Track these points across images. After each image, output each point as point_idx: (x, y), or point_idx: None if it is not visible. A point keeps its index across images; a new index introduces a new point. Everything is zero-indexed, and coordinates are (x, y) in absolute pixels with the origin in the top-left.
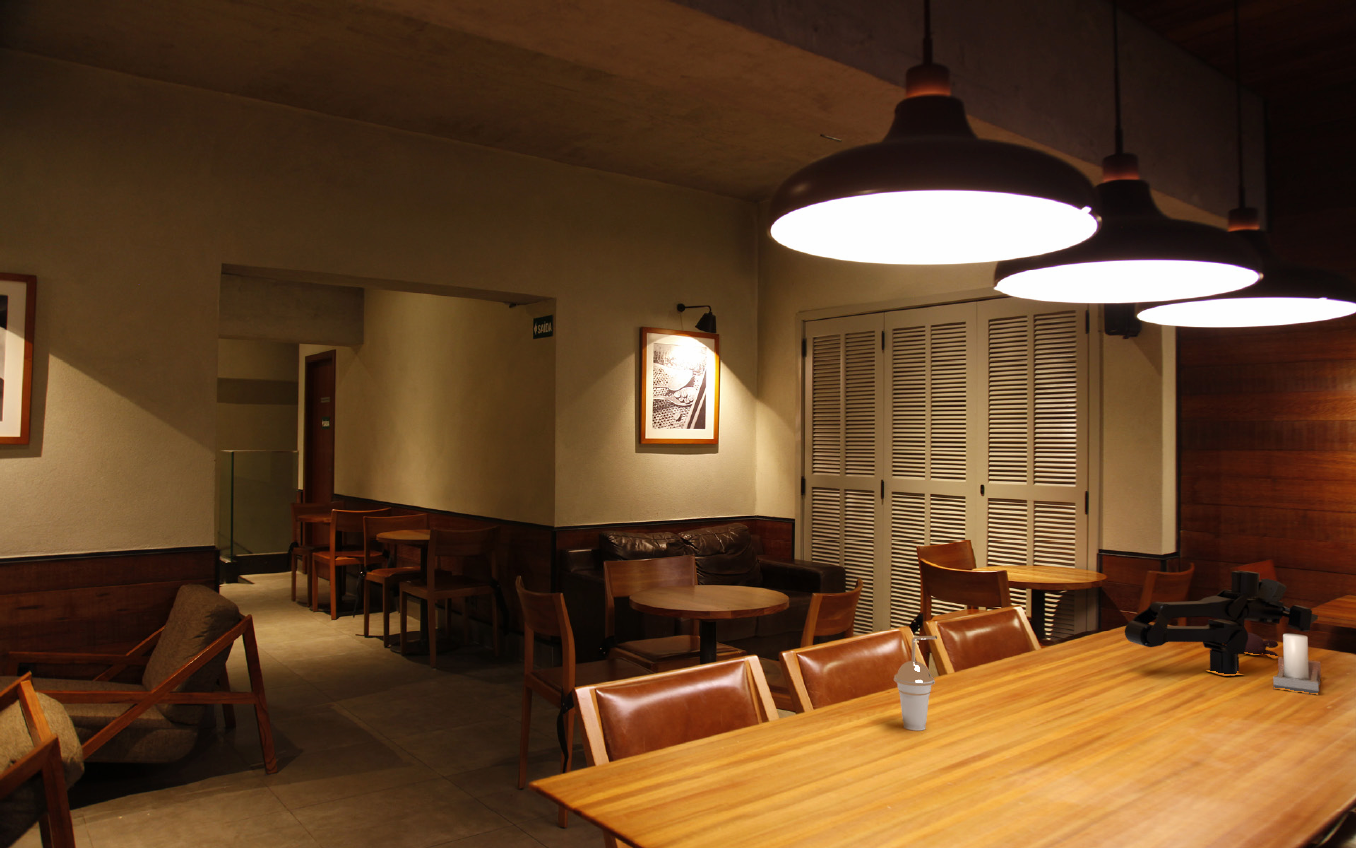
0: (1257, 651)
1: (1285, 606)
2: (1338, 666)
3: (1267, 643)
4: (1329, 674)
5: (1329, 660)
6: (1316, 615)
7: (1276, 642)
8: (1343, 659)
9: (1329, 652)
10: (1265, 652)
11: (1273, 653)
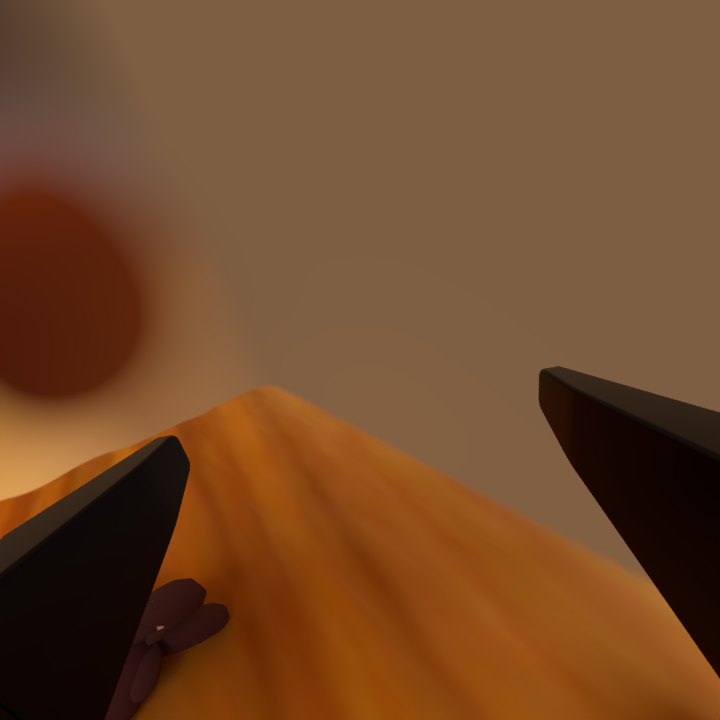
0: (136, 700)
1: (161, 451)
2: (380, 460)
3: (155, 629)
4: (536, 589)
5: (305, 441)
6: (587, 377)
7: (192, 590)
8: (307, 406)
9: (241, 399)
10: (168, 649)
11: (203, 624)
